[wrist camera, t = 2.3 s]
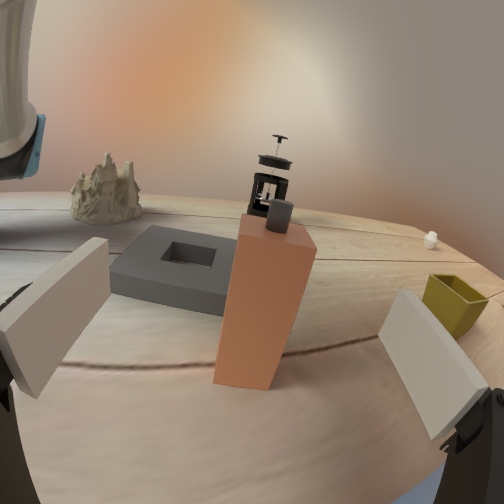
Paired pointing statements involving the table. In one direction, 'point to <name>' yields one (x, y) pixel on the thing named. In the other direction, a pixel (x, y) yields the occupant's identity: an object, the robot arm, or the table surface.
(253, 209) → the french press
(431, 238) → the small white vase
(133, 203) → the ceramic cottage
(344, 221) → the table surface
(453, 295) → the flower pot
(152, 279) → the socket
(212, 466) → the table surface
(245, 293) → the plug
